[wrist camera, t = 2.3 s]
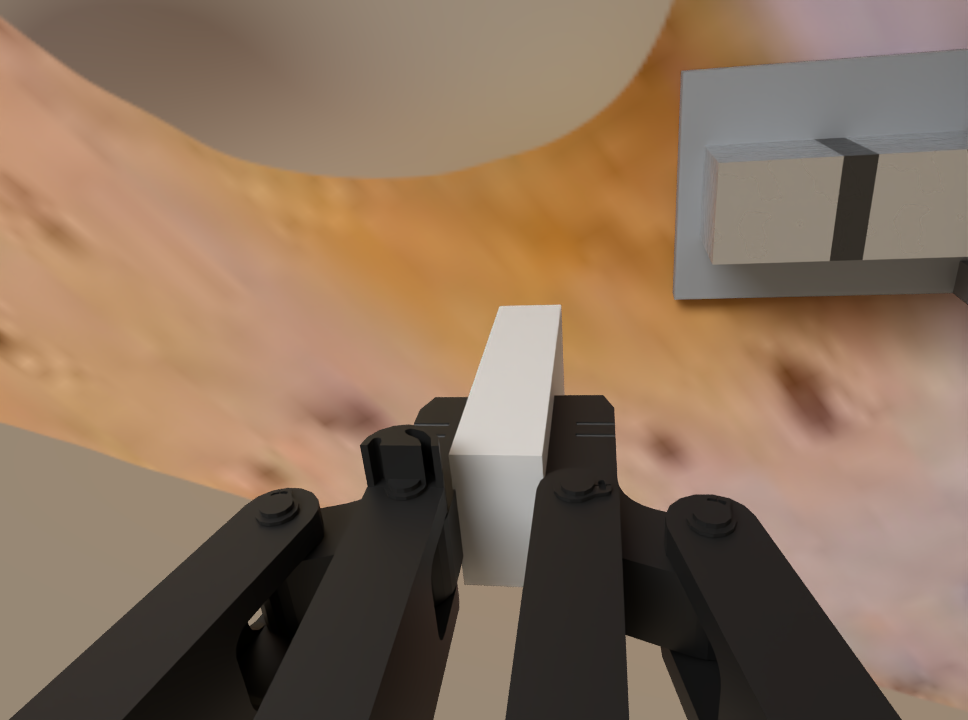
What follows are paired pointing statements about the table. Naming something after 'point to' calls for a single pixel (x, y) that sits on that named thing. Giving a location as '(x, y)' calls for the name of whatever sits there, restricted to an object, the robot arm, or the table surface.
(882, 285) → the grey angular piece
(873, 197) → the grey block
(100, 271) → the table surface
